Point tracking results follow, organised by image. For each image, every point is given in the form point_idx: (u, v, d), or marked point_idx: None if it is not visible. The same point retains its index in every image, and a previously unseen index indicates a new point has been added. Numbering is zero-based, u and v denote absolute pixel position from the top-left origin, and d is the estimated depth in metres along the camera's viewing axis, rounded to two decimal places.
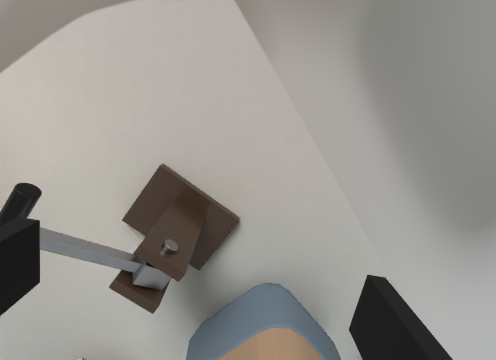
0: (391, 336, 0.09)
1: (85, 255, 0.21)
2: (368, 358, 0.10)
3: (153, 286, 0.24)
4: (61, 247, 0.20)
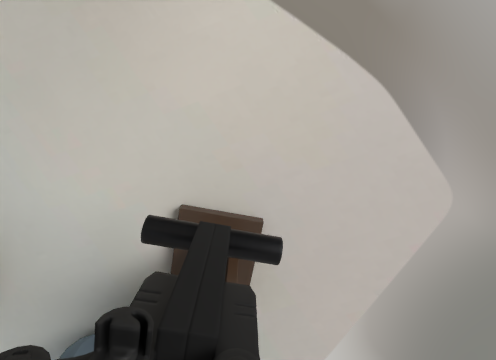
0: None
1: None
2: None
3: None
4: None
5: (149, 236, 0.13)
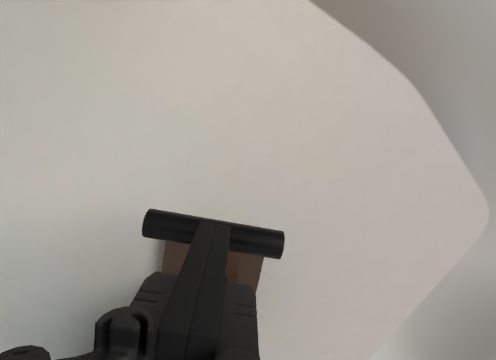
0: None
1: None
2: None
3: None
4: None
5: (151, 224, 0.13)
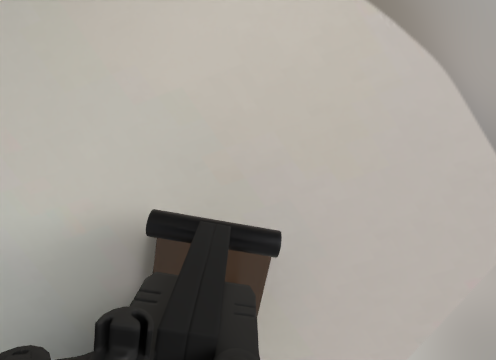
0: None
1: None
2: None
3: None
4: None
5: (156, 219, 0.14)
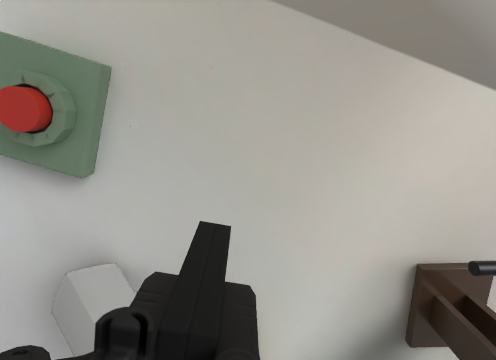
0: None
1: None
2: None
3: None
4: None
5: (482, 267, 0.27)
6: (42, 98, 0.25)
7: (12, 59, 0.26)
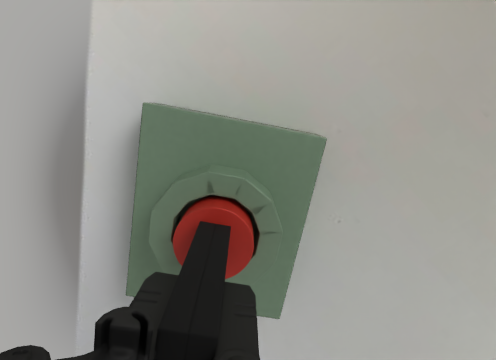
0: None
1: None
2: None
3: None
4: None
5: None
6: (245, 214, 0.14)
7: (172, 148, 0.15)
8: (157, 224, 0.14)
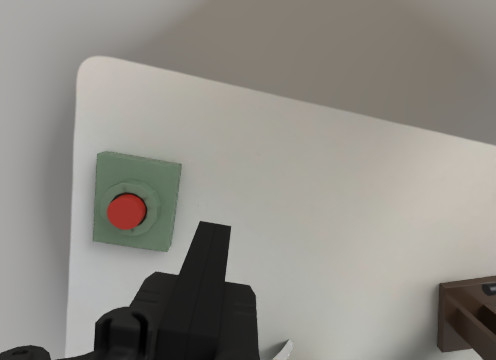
0: None
1: None
2: None
3: None
4: None
5: (493, 288, 0.34)
6: (139, 201, 0.33)
7: (110, 172, 0.35)
8: (103, 205, 0.34)
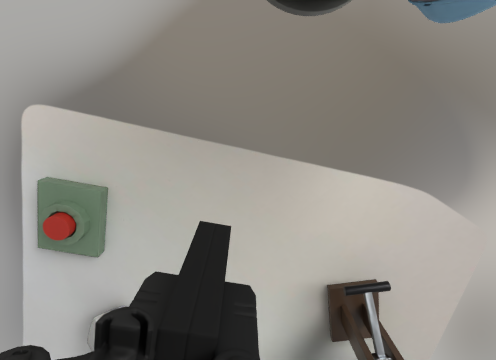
0: None
1: (375, 325, 0.42)
2: None
3: None
4: (373, 313, 0.42)
5: (348, 290, 0.43)
6: (69, 218, 0.43)
7: (48, 194, 0.44)
8: (41, 220, 0.43)
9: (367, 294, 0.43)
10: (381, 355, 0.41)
